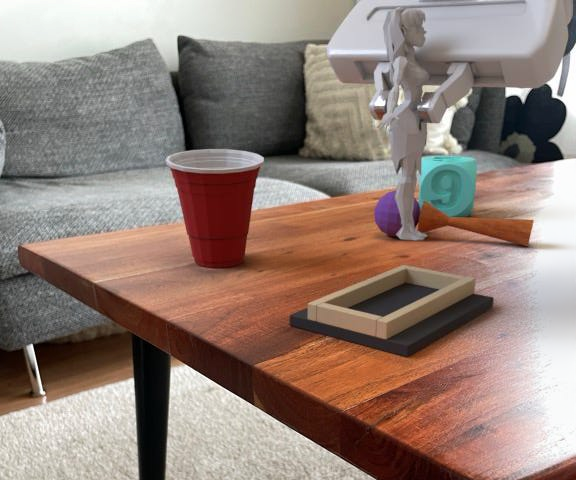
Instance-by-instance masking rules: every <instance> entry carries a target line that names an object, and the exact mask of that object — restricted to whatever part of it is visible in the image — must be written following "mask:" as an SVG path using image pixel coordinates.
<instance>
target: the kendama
mask: <svg viewBox="0 0 576 480" xmlns="http://www.w3.org/2000/svg"><path fill="white" fill-rule="evenodd" d="M396 190H397V189H395V190H392V191H388V192H387V193H385V194H383V196H381V197H380V198H378V201H377V203H376V205H375V207H374V209H373V215H374V222H375V225H376V226H377V228H379V230H380V231H381V233H383V234H384V235H386V236H388V237H393V238H399V237H398V236H397V235H396V234H397V232H398V231H399V230H400V229H401V228H402V224H401V217H400V213H399V209H398V206H397V203H396V200H395V193H396ZM412 216H413V220H414V228H415V229H416V228H417V230H418V231H420V232H421V233H423V234H425V233H427V232H430V231H433V230H434V231H435V230H437V229H441V228H445V227H452V228H455V229H460V230H463V231H467V232H470V233H474V234H477V235H481V236H485V237H489V238H492V239H497V240H500V241H505V242H509V243H512V244H515V245H520V246H523V247H527V248H528V247H529V245H530V244H529V243H530V240H531V239H530V238H531V235H532V231H533V226H534V221H535V220H534V219H521V218H491V217H490V218H489V217H449V216H447V215H446V214H444V213H443V212H441V211H440V210H438V209H437V208H435V207H434V206H432V205H431V204H429V203H428V202H426V201H424V202H423V205H422V208H421V211H420V206H419V203H418V200H417V199H416V197H415V196H414V208H413V213H412Z"/></svg>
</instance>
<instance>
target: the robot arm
mask: <svg viewBox="0 0 576 480" xmlns="http://www.w3.org/2000/svg"><path fill="white" fill-rule="evenodd" d="M398 7H401V8H408V9H418V10H421V11H423V12H424V13H425V17H426V21H425V23H424V20H423V24H422V27H423V28H424V30H425V31H427V33H426V34H424V37H426V39H425V42H424V45H423V46H422V47H416V46H413V47H414V49H415V55H414V59H415V61H416V62H417V63H418V64H419V65H420V66H422V67H423V68H424V69H425V70H426V71H427V72H428V74H429V76H430V78H429V80H428V81H427V82H426V83H425V84H424V85H423V86H431V87H432V86H437V88H436V89H435V90H434V91H424V92H423V94H422V98H421V102H420V103H419V105H418V107H417V113H418V115H419V116H420V117H421V118H420V120H421V122H422V123H427V124H440V123H441V122H442V119H443V117H444V116H445V114H446V112H447V110H448V109H450V108H451V107H453V106H454V105H455V104H457V103H458V102H459V101H461V100H462V99H464V98H465V97H466V96H467V95H469V93H470V92H471V89H472V88H474V87H475V88H510V89H539V88H541V87H543V86H545V84H547V83H548V82H550V81H551V80H553V79H554V77H555V76H556V74H557V72H558V70H559V67H560V65H561V63H562V60H563V57H564V55H565V52H566V48H567V44H568V42H569V27H568V25H569V24H570V22H571V20H572V18H573V15H574V0H359V1H358V2H357V4H355V6H354V7H353V8H352V9H351V10H350V11H349V13H348V14H347V15H346V17H345V18H344V20H343V21H342V23H341V24H340V25H339V26H338V27H337V29H336V31H335V32H334V33H333V35H332V36H331V38H330V40H329V41H328V44H327V45H326V57H327V60H328V62H329V65H330V66H331V69H332V71H333V72H334V75H335V76H336V78H337V79H338V81H339V82H340V83H341V84H356V85H357V84H358V85H359V84H361V85H374V87H375V93H374V95H373V97H372V98H371V101H370V102H369V106H368V107H369V109H368V110H369V112H370V114H371V116H372V118H373V120H375V121H382V118H383V116H384V115H385V114H386V113H387V101H388V96H389V93H390V91H391V90H392V88H393V87H394V85H393V84H392V83H391V82H390V67H389V61H388V57H387V50H386V45H385V42H384V33H383V26H384V22H385V19H386V16H387V12H388V11H391V10H394V9H396V8H398ZM398 106H399V104H398V103H397V105H396V107H398ZM396 107H395V108H396Z"/></svg>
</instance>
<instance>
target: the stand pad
mask: <svg viewBox="0 0 576 480" xmlns="http://www.w3.org/2000/svg"><path fill="white" fill-rule="evenodd" d="M476 280H477V279H476V278H475V277H471V276H464V275H460V274H455V273H450V272H444V271H439V270H434V269H427V268H421V267H418V266H411V265H406V264H402V265H400V266H397V267H395V268H392V269H390V270H387V271H384V272H382V273H379V274H377V275H375V276H372V277H370V278H367V279H365V280H362V281H360V282H357V283H355V284H352V285H350V286H347V287H344V288H343V289H340V290H337V291H334V292H332V293H330V294H327V295H324V296H322V297H320V298H316V299H314V300H313V301H310V302H308V303H307V307H306V308H303V309H301V310H298V311H296V312H294V313H291V314H289V326H291V327H293V328H294V327H295V328H298V329H301V330H306V331H309V332H312V333H316V334H320V335H323V336H328V337H331V338H335V339H339V340H343V341H347V342H350V343H353V344H357V345H361V346H365V347H368V348H371V349H372V348H373V349H376V350H379V351H382V352H383V351H384V352H387V353H391V354H395V355H398V356H402V357H406V358H408V357H410V356H412V355H413V354H415V353H416V352H419V351H420V350H422V349H423V348H426V347H427V346H428V345H431V344H432V343H434V342H435V341H437V340H439V339H441V338H442V337H444V336H446V335H448V334H449V333H451V332H453V331H454V330H457V329H458V328H460V327H462V326H463V325H465V324H466V323H468V322H470V321H472V320H474V319H475V318H477V317H479V316H481V315H483V313H485V312H487V311H489V310H491V309H492V308H493V307H494V299H495V298H494V297H493V296H488V295H485V294H479V293H475V288H476Z"/></svg>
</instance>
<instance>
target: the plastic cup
mask: <svg viewBox="0 0 576 480" xmlns="http://www.w3.org/2000/svg"><path fill="white" fill-rule="evenodd" d="M264 161H265V158H264V157H263V156H262V155H260V154H258V153H257V152H256V153H255V152H252V151H246V150H239V149H229V148H227V149H226V148H218V149H217V148H206V149H191V150H186V151H180V152H176V153H173V154H170V155H168V156H167V157H166V158H165V161H164V162H165V164H166V165H167V166H168V168H169V169H170V172H171V175H172V178H173V180H174V185H175V188H176V190H177V196H178V199H179V204H180V209H181V213H182V217H183V222H184V224H185V225H184V226H185V230H186V235H188V240H189V245H190V250H191V255H192V258H193V259H194V260H193V261H194V263H195V264H196V265H197V266H201V267H203V268H230V267H236V266H239V265H241V264H243V263H244V259H245V256H246V248H247V241H248V235H249V231H250V224H251V217H252V208H253V201H254V194H255V188H256V185H257V179H258V178H259V172H260V170H261V167H263V166H264Z"/></svg>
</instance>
